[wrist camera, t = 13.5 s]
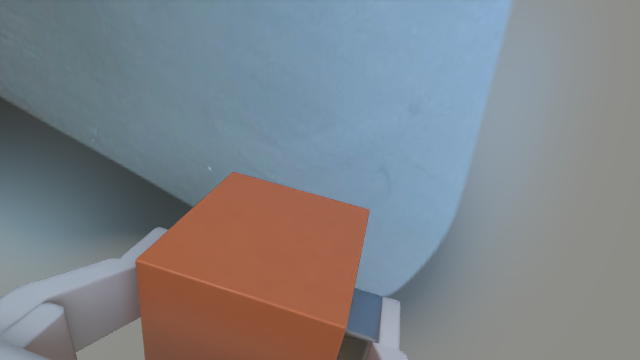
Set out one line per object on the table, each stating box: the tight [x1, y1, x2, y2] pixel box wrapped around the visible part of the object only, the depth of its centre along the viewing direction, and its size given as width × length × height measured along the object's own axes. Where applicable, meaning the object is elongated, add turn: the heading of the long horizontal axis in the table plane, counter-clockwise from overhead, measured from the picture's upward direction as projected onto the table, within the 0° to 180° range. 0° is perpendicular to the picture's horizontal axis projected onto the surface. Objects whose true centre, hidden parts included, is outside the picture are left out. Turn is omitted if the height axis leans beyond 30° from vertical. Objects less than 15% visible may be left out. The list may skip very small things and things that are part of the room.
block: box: [135, 172, 370, 360], centre depth 10 cm, size 4×4×4 cm
